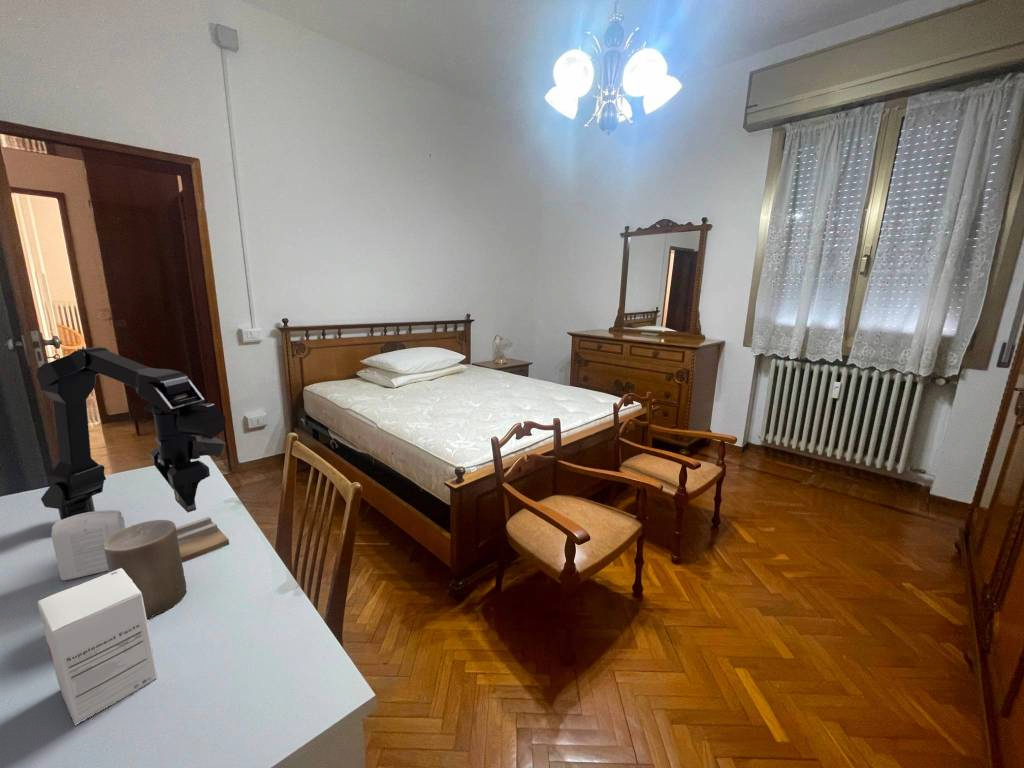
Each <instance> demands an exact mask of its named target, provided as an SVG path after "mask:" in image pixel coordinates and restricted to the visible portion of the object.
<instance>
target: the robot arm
mask: <svg viewBox="0 0 1024 768" xmlns="http://www.w3.org/2000/svg"><path fill="white" fill-rule="evenodd" d="M98 375H103V376H106V377H108V378H111V379H113V380H115V381H117V382H120V383H123V384H126V386H130V387H132V388H134V389H135V391H136V394H137V395H138V396H139V397H141V398H142V399H144V400H146V401H147V402H149V404H148V405H146V406H145V407H144V408H143V410H144V412H151V413H152V414H153V419H154V425H155V433H156V436H154V441H155V442H156V443H157V444H158V445H157V446H158V447H154V448H153V449H152V450H151V451H150V452H149V455H150V460H151V462H152V463H153V465H154V467H155V468H156V469H157V471H158V472H159V473H160V474H161V476H162V477H163V478H164V480H165V481H166V482H167V483H168V484H167V485H169V486H170V488H171V489H172V490H173V491H174V489H175V491H176V492H177V493H178V495H179V496H180V497H181V499H182V500H183V501H184V503H185V504H186V505H187V506H192V505H193V504H194V500H195V501H196V496H197V495H196V494H197V490H198V486H199V484H200V482H202V481H203V480H205V479H207V478H208V477H210V476H211V474H210V467H209V466H208V465H207V464H205V463H204V462H203V461H201V460H198V459H200V458H201V456H209V457H210V456H215V457H217V458H221V457H223V454H224V450H225V446H226V442H225V441H224V440H222V439H220V438H218V437H217V436H219V435H220V434H221V433H222V432H223V430H224V428H225V427H226V422H227V421H226V420H227V419H226V416H224V415H225V414H224V413H223V412H222V411H221V410H219V409H217V408H216V405H215V403H211V402H208V403H205V402H206V400H205V398H204V396H203V395H202V393H201V392H200V391H199V390H198V388H196V386H195V385H194V384H193V382H192V381H191V379H190V378H189V376H188V375H187V374H186V373H184V372H182V371H178V370H174V369H169V368H155V367H149V366H147V365H145V364H142V363H140V362H137V361H135V360H132V359H130V358H126V356H125V357H124V356H121V355H120V354H117V353H115V352H112V351H111V350H109V349H108V348H106V347H103V346H94V347H86V348H79V349H77V350H74V351H72V352H71V353H70V354H68V355H65V356H63V357H61V358H58V359H55V360H53V361H50V362H46V363H43V364H41V366H39V367H38V368H37V372H36V378H37V380H38V382H39V387H40V390H41V391H42V392H43V393H44V394H45V395H46V396H47V397H48V398H50V399H51V400H52V401H53V410H54V419H55V429H56V437H57V439H56V440H57V447H58V459H59V462H58V463H57V465H56V466H55V468H54V469H53V470H52V472H51V473H50V480H49V482H50V484H49V487H48V488H47V489H46V491H45V492H44V494H43V495H42V497H41V498H40V500H41V502H42V504H43V506H44V507H45V508H49V509H56V510H58V514H59V518H60V519H59V520H63V519H65V518H68V517H71V516H74V515H78V514H82V513H87V512H93V511H96V510H95V504H94V499H93V496H95V495H97V494H100V493H103V490H104V484H105V481H106V480H107V478H106V475H105V466H104V465H103V464H99V463H98V462H96V460H94V459H93V458H92V453H91V441H90V429H89V428H90V427H89V416H88V406H87V400H88V398H89V397H90V395H91V394H92V392H93V391H94V389H95V387H96V381H97V380H96V378H97V376H98ZM192 460H193V461H192Z"/></svg>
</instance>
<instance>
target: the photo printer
mask: <svg viewBox="0 0 1024 768" xmlns="http://www.w3.org/2000/svg"><path fill="white" fill-rule="evenodd" d="M124 528H126V524H125V519H124V517H123V515H122V512H121V511H120V510H111V509H108V510H107V509H106V510H95V511H93V512H87V513H82V514H78V515H74V516H71V517H68V518H65V519H63V520H61V519H59V520H58V521H56V522H54V524H53V525H52V526H51V533H50V536H51V539H52V540H51V541H52V544H53V550H54V555H55V559H56V563H57V564H56V565H57V567H58V568H57V569H58V572H59V576H60V577H59V578H60V579H61V580H62V581H69V580H75V579H78V578H82V577H86V576H90V575H93V574H94V575H95V574H98V573H103V572H109V571H108V565H107V560H106V556H105V551H104V549H103V548H104V547H103V544H104V542H105V541H106V540H107V538H109V537H110V536H112V535H113V534H115V533H117V532H119V531H120V530H122V529H124Z"/></svg>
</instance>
